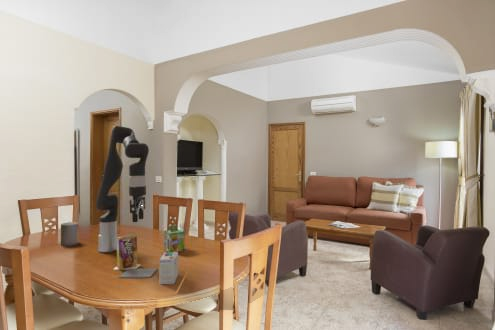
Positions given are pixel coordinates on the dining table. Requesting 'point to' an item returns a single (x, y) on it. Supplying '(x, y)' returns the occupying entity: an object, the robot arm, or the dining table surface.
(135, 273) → the slate coaster
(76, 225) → the pillar candle
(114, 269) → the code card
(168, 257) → the light bulb box
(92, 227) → the dining table surface
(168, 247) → the chalk box
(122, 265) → the candy box
